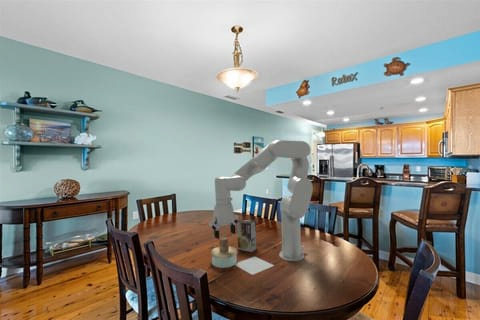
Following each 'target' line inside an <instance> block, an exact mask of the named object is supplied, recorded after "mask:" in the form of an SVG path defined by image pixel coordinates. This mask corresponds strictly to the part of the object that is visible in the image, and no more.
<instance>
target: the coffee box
mask: <svg viewBox="0 0 480 320" xmlns="http://www.w3.org/2000/svg"><path fill="white" fill-rule="evenodd" d="M236 226H237V228H236V229H237V250H240V251H245V252H248V253H249V252H250V253H253V252H254V251H255V250H256V249H257V227H256V226H257V221H256V220H252V219H251V220H250V219H241V220H238V221H237V223H236Z"/></svg>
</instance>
